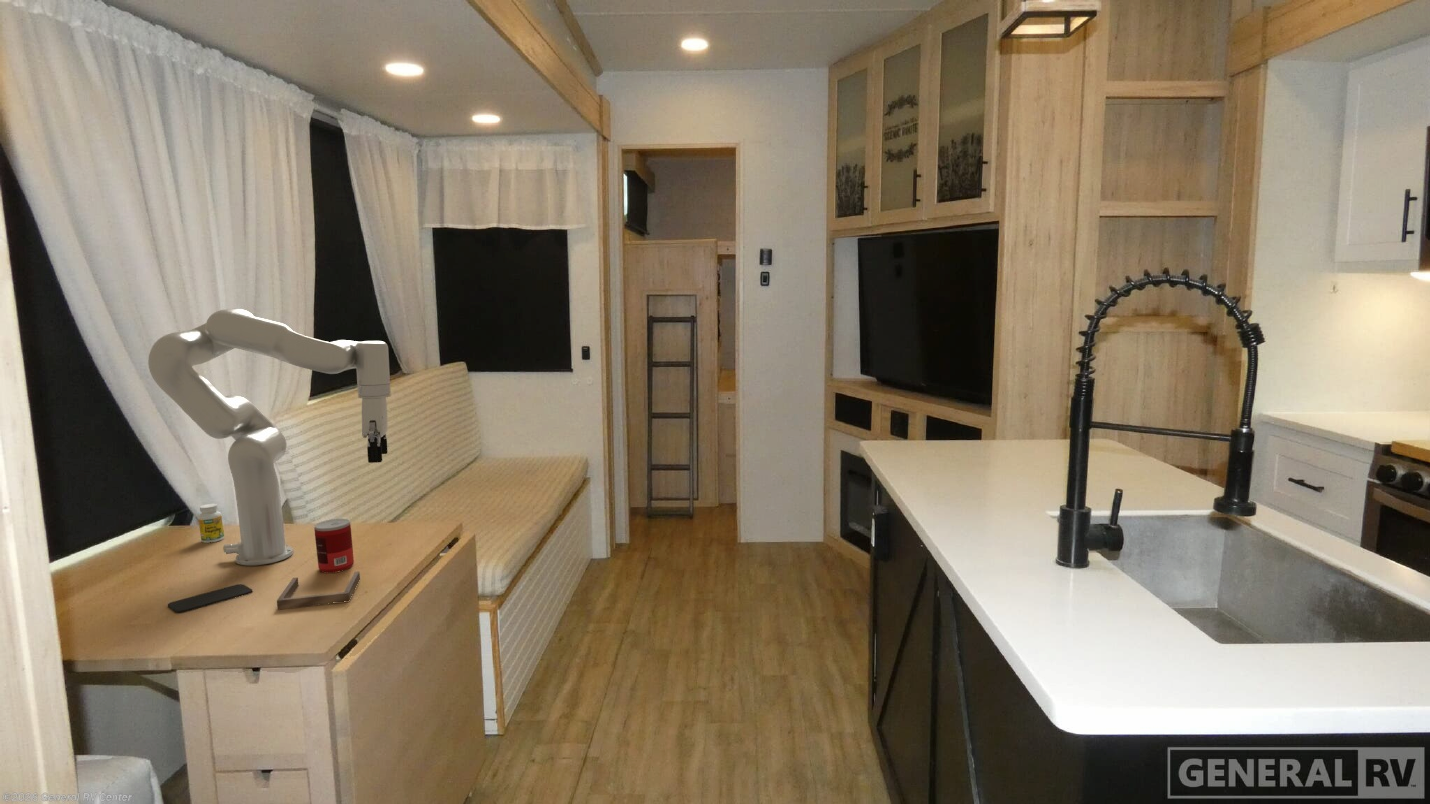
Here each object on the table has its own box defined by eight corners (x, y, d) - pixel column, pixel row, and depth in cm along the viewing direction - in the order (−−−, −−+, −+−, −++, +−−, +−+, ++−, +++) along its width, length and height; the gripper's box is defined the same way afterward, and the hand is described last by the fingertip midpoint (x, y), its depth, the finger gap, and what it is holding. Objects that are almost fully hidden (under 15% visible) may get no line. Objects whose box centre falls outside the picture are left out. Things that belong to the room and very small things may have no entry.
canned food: (360, 561, 200) (356, 518, 199) (342, 573, 192) (338, 528, 191) (330, 561, 201) (326, 518, 199) (311, 573, 193) (307, 528, 191)
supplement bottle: (221, 535, 223) (217, 501, 222) (226, 539, 220) (222, 505, 218) (198, 540, 220) (194, 505, 218) (203, 544, 216) (199, 509, 214)
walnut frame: (277, 609, 172) (276, 600, 172) (293, 586, 185) (292, 577, 185) (349, 601, 175) (348, 593, 175) (360, 579, 188) (359, 571, 188)
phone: (254, 590, 182) (177, 612, 171) (254, 594, 182) (178, 615, 171) (241, 583, 187) (165, 603, 175) (241, 586, 187) (166, 607, 176)
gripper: (363, 386, 211) (367, 451, 213) (351, 396, 194) (356, 466, 197) (394, 385, 213) (398, 450, 215) (385, 395, 196) (389, 465, 199)
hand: (378, 458), depth 206 cm, fingers open, 9 cm apart
